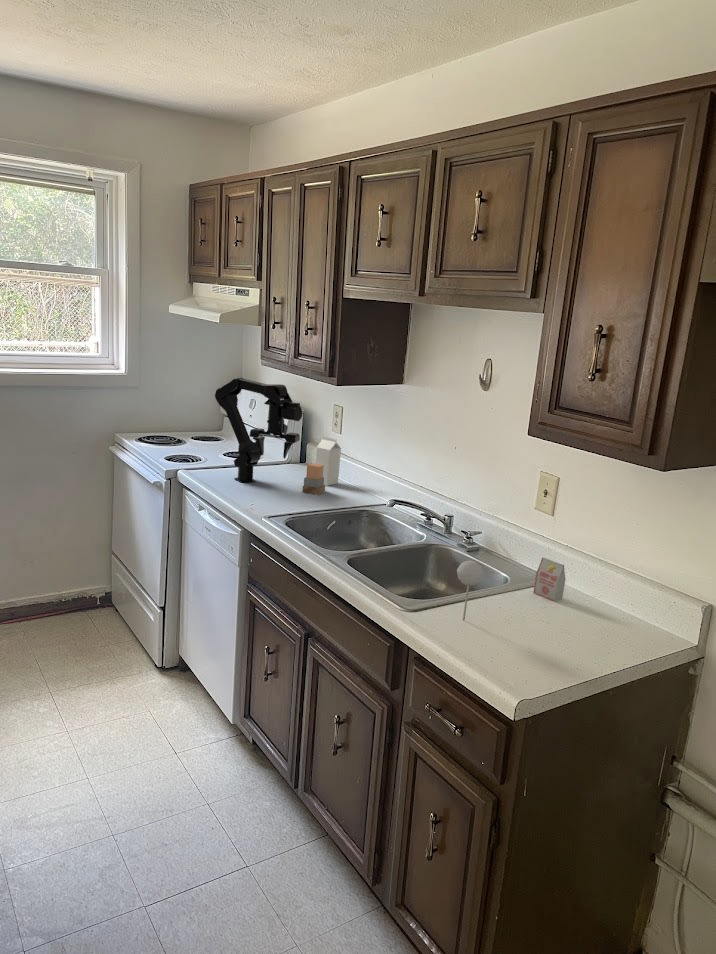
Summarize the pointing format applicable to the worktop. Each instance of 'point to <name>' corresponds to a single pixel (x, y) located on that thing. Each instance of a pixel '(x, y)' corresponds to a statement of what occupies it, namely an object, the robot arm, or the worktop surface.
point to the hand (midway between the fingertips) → (273, 456)
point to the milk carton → (329, 459)
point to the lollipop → (469, 576)
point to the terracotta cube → (315, 471)
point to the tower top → (313, 482)
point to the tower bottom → (313, 490)
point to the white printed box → (550, 580)
